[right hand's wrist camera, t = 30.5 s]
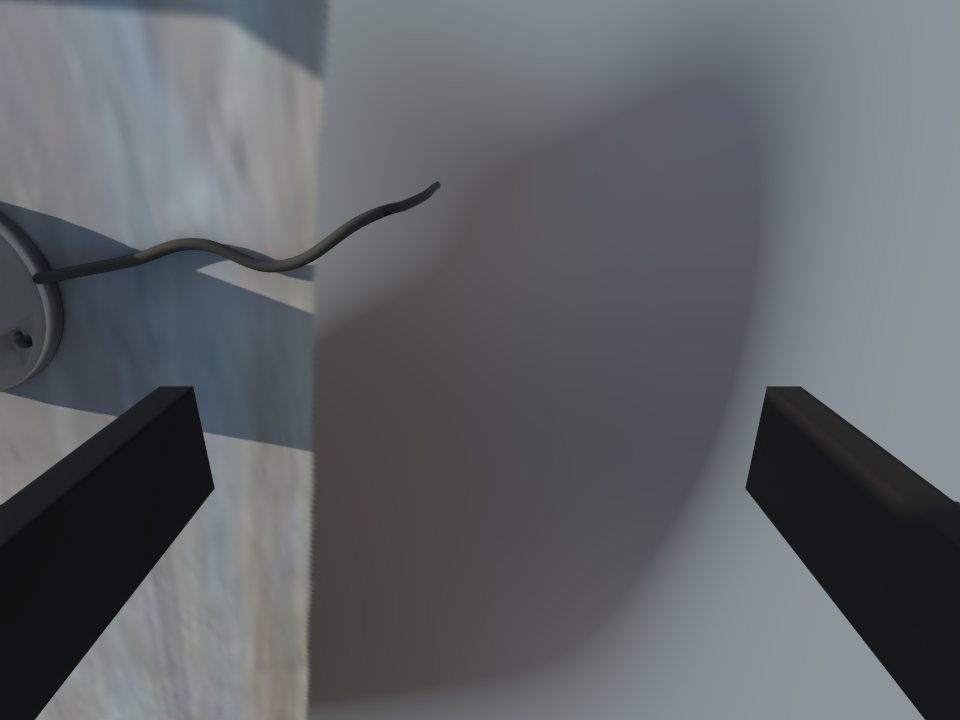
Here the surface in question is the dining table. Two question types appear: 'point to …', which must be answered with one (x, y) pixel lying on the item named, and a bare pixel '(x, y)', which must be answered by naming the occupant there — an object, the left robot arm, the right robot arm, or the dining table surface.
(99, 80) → the dining table surface
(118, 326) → the dining table surface
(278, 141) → the dining table surface
